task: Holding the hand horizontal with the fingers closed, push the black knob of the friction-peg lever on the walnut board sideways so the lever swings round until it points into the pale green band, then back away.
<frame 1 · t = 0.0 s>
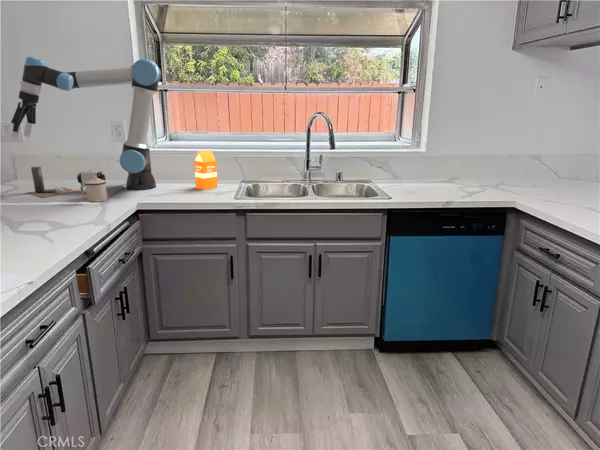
hand: (21, 137, 192), 28 cm above the worktop, tool tilted 20°, fingers open, 13 cm apart
orange juice: (206, 187, 224), on the worktop
teacup with lid: (94, 201, 192), on the worktop
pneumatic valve: (93, 194, 206), on the worktop
peg lever: (47, 179, 200), point 7 cm above the worktop, hinge at 0.0°
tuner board: (53, 194, 203), on the worktop
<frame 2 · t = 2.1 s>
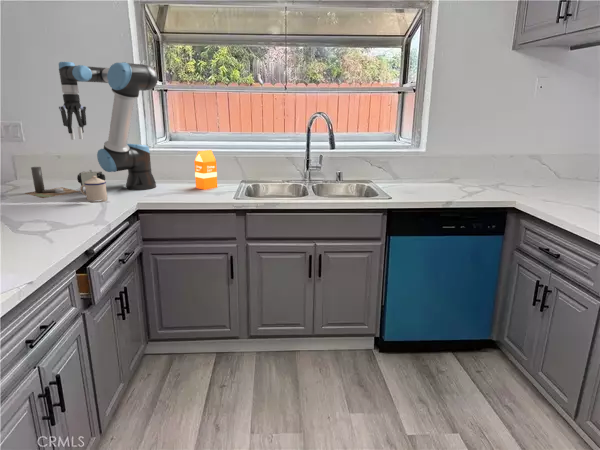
hand: (77, 139, 221), 25 cm above the worktop, tool pointing down, fingers open, 4 cm apart
nothing on the worktop moved.
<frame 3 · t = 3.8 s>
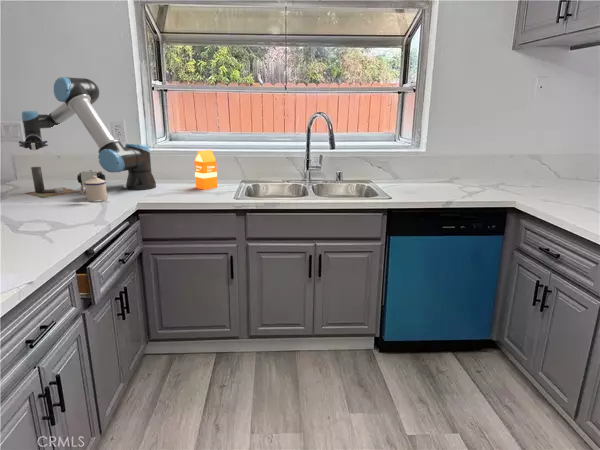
hand: (33, 147, 201), 23 cm above the worktop, tool horizontal, fingers closed
nothing on the worktop moved.
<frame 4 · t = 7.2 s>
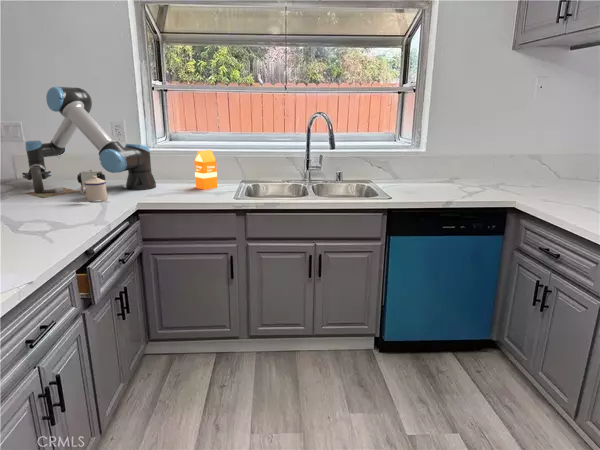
hand: (36, 179, 201), 7 cm above the worktop, tool horizontal, fingers closed
peg lever: (47, 179, 200), point 7 cm above the worktop, hinge at 4.3°, touching gripper
everything else where it was.
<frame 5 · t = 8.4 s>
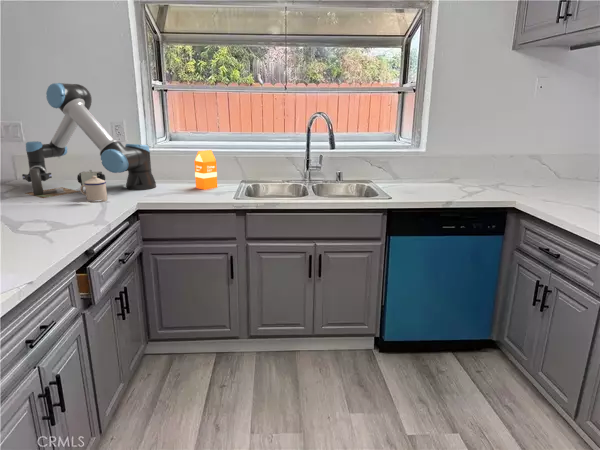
hand: (36, 181, 197), 7 cm above the worktop, tool horizontal, fingers closed
peg lever: (47, 180, 198), point 7 cm above the worktop, hinge at 37.7°, touching gripper
everything else where it was.
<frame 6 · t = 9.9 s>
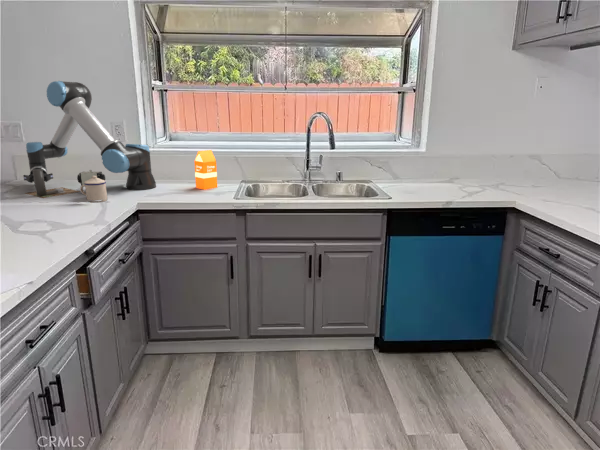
hand: (38, 182, 194), 7 cm above the worktop, tool horizontal, fingers closed
peg lever: (48, 181, 197), point 7 cm above the worktop, hinge at 58.7°, touching gripper
everything else where it was.
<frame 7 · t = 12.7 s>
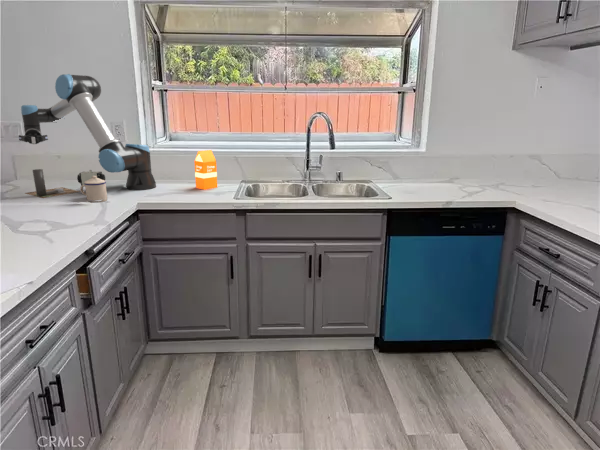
hand: (33, 140, 199), 26 cm above the worktop, tool horizontal, fingers closed
peg lever: (48, 181, 197), point 7 cm above the worktop, hinge at 58.7°
everything else where it was.
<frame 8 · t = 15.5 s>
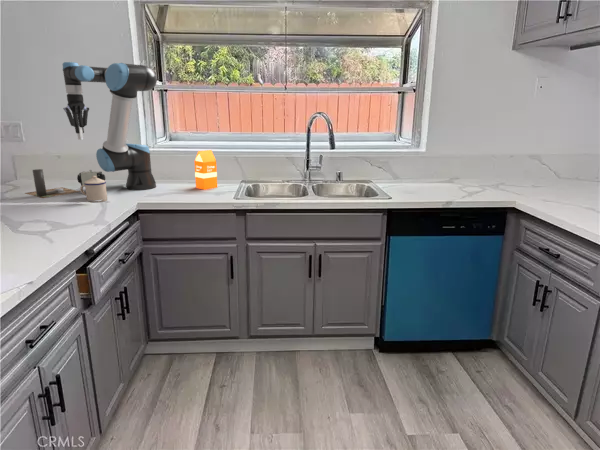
hand: (80, 139, 223), 24 cm above the worktop, tool pointing down, fingers closed
nothing on the worktop moved.
at the end: peg lever at +59° (first picture: +0°); peg lever touching nothing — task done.
